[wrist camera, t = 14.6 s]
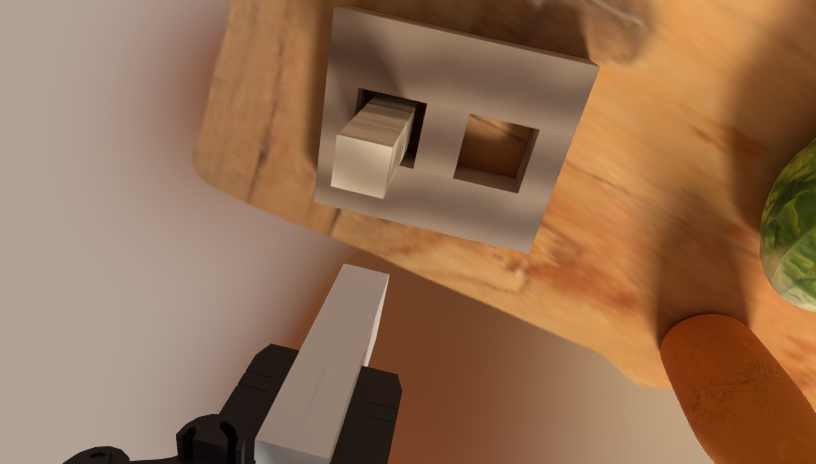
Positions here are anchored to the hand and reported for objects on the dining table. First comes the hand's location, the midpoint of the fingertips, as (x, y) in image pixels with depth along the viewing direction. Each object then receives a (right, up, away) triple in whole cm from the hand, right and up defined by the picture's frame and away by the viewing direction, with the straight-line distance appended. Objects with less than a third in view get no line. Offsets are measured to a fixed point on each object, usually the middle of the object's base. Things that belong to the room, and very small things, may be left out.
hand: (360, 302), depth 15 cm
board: (+5, +12, +30) cm, 33 cm away
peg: (0, +13, +30) cm, 33 cm away
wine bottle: (+35, -10, +37) cm, 52 cm away
